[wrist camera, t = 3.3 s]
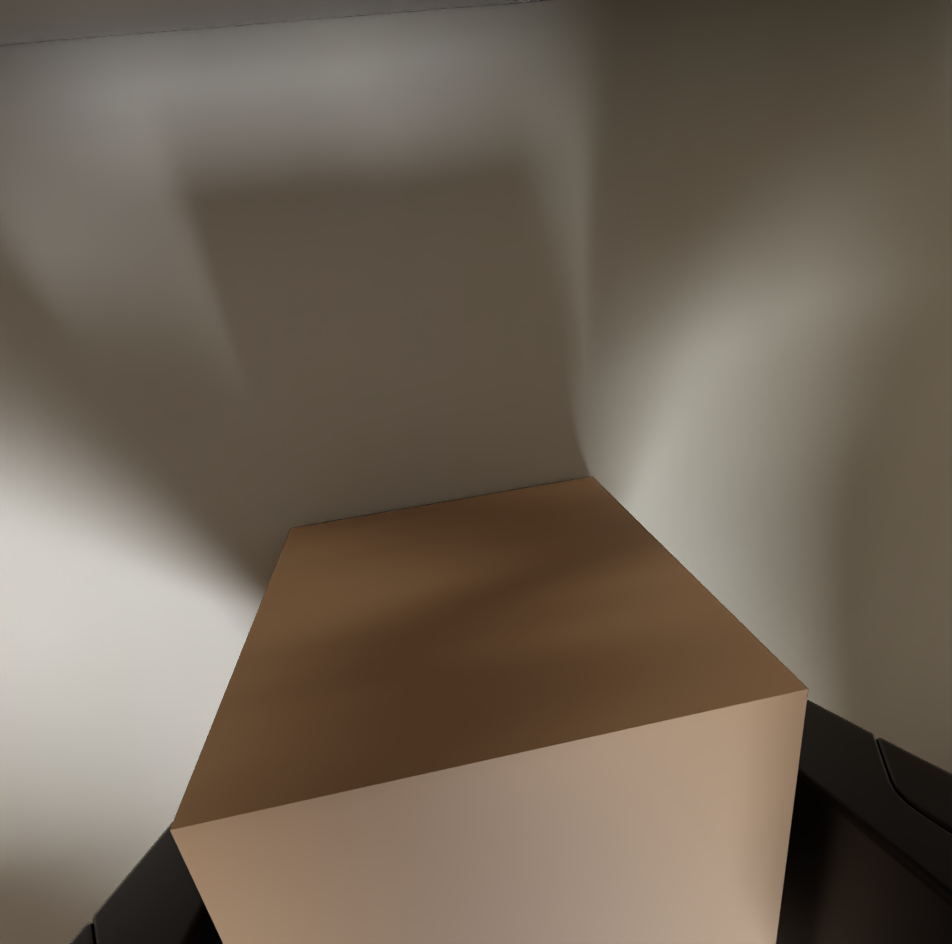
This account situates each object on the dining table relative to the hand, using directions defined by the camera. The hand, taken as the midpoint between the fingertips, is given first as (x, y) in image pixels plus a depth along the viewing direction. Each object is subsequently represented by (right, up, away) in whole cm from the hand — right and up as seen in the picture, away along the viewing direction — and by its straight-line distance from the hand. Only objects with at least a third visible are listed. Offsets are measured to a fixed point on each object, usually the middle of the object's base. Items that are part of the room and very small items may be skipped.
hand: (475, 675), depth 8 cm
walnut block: (0, 0, +1) cm, 1 cm away
